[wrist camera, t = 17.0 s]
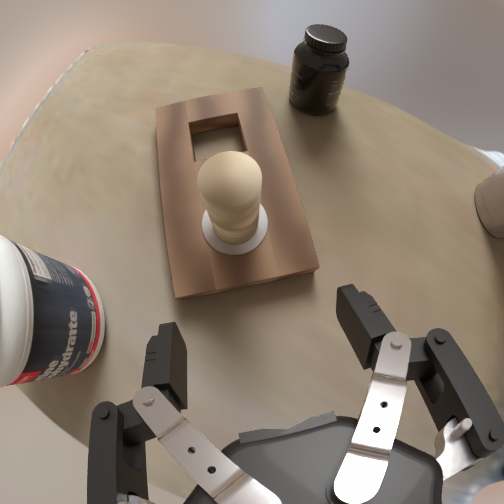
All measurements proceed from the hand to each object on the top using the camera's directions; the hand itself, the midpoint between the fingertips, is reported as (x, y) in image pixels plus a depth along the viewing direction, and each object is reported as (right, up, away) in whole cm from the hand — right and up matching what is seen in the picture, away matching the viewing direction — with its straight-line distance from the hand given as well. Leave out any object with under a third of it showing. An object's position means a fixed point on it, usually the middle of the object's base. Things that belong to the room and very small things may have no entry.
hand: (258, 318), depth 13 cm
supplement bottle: (+8, +24, +22) cm, 34 cm away
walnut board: (-3, +11, +18) cm, 22 cm away
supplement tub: (-22, -5, +14) cm, 27 cm away
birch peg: (-2, +6, +14) cm, 16 cm away
